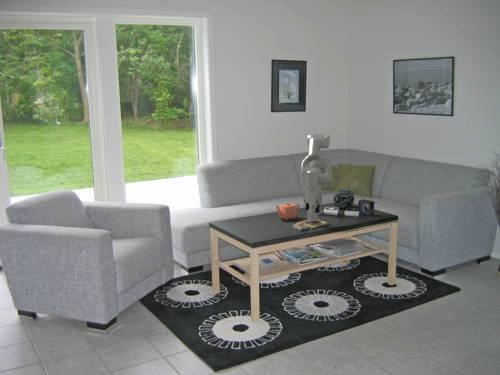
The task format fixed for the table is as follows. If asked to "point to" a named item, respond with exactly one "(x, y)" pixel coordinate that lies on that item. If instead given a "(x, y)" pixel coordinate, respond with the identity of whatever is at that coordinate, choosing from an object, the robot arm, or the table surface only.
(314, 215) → the metal billet
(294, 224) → the button housing
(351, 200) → the decorative stone
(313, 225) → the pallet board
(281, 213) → the teapot
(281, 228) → the table surface
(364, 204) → the small box
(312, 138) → the robot arm
